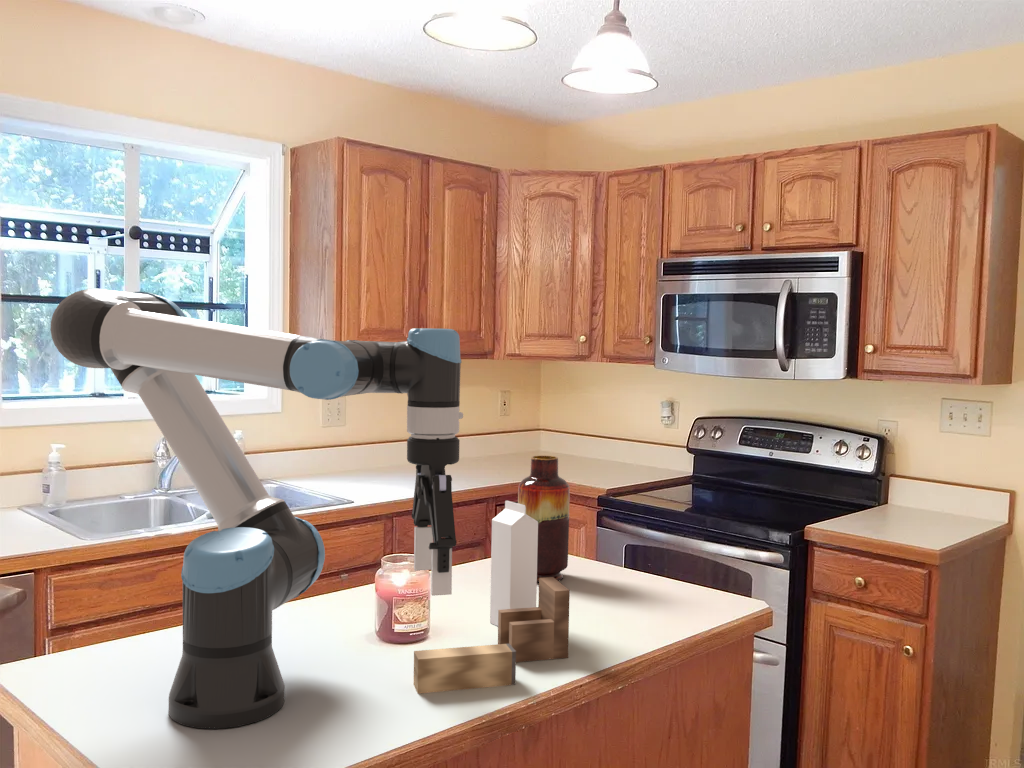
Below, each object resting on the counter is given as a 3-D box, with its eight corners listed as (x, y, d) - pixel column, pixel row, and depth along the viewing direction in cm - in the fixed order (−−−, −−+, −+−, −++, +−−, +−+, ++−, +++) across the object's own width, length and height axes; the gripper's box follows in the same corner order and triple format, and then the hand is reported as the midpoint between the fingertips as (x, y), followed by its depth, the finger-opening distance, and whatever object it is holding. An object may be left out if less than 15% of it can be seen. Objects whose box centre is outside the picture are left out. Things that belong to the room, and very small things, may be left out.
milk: (509, 632, 154) (511, 507, 153) (489, 623, 159) (491, 501, 158) (536, 626, 158) (538, 503, 157) (516, 617, 163) (518, 498, 162)
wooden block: (417, 693, 127) (418, 659, 126) (413, 684, 130) (414, 651, 130) (515, 684, 131) (515, 651, 131) (508, 675, 134) (509, 643, 134)
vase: (512, 582, 186) (515, 459, 185) (520, 569, 197) (523, 453, 196) (564, 586, 184) (567, 461, 183) (570, 572, 195) (572, 455, 194)
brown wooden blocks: (511, 662, 140) (512, 593, 139) (497, 645, 147) (499, 580, 147) (568, 657, 142) (569, 590, 142) (551, 640, 150) (553, 576, 150)
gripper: (479, 445, 116) (477, 604, 117) (441, 426, 140) (439, 559, 141) (423, 446, 114) (421, 608, 115) (394, 427, 138) (393, 561, 139)
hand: (431, 581), depth 128 cm, fingers open, 13 cm apart
